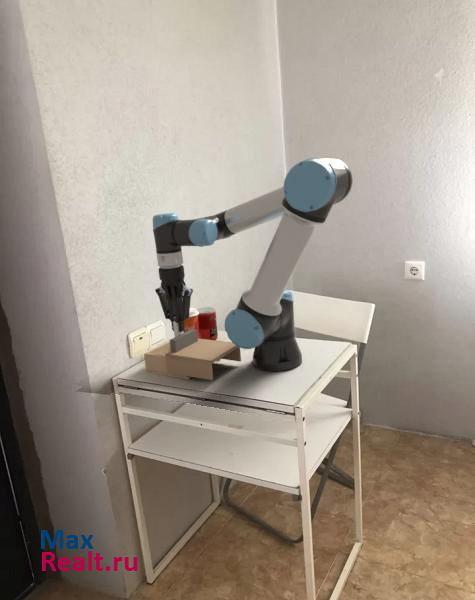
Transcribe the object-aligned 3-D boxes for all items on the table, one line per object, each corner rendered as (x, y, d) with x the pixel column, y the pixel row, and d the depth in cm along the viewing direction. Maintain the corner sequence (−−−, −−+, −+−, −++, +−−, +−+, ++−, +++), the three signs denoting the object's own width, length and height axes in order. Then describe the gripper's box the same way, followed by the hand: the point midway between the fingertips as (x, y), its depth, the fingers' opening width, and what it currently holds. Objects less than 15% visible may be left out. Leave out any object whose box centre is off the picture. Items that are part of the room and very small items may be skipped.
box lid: (241, 360, 158) (238, 331, 155) (212, 380, 145) (208, 348, 142) (198, 354, 166) (195, 326, 164) (167, 372, 153) (163, 342, 151)
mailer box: (214, 362, 162) (212, 344, 161) (187, 379, 151) (185, 359, 149) (174, 356, 171) (172, 339, 169) (146, 371, 159) (143, 353, 158)
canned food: (215, 342, 182) (212, 312, 179) (193, 342, 183) (190, 313, 181) (220, 335, 189) (217, 306, 186) (199, 335, 191) (196, 307, 188)
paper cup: (176, 352, 174) (171, 313, 171) (186, 345, 181) (182, 307, 178) (196, 354, 171) (192, 314, 168) (206, 346, 178) (202, 307, 175)
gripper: (145, 268, 153) (155, 342, 159) (180, 269, 146) (189, 347, 152) (162, 263, 159) (171, 335, 165) (195, 263, 152) (204, 339, 158)
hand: (179, 341), depth 158 cm, fingers closed
